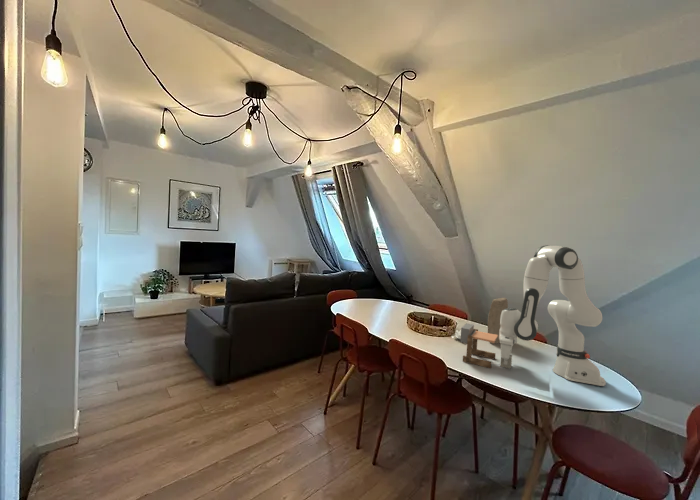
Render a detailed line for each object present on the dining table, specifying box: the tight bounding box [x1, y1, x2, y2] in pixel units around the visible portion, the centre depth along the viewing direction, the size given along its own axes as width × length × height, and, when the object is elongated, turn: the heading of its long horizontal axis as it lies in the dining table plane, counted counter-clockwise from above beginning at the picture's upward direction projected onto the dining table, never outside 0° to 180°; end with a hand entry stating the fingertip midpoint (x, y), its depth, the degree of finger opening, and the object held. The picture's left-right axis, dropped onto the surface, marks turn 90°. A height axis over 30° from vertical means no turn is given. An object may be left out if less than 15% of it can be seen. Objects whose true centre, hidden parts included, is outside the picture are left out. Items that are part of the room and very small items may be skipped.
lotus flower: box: [451, 328, 473, 345], centre depth 210 cm, size 14×15×9 cm
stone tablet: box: [487, 297, 509, 345], centre depth 212 cm, size 20×8×30 cm, turn 130°
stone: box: [500, 354, 513, 369], centre depth 170 cm, size 5×5×6 cm
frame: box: [462, 328, 496, 369], centre depth 177 cm, size 14×18×15 cm
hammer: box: [459, 323, 498, 344], centre depth 177 cm, size 18×14×8 cm
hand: (506, 362), depth 170 cm, fingers closed on stone, 5 cm apart
